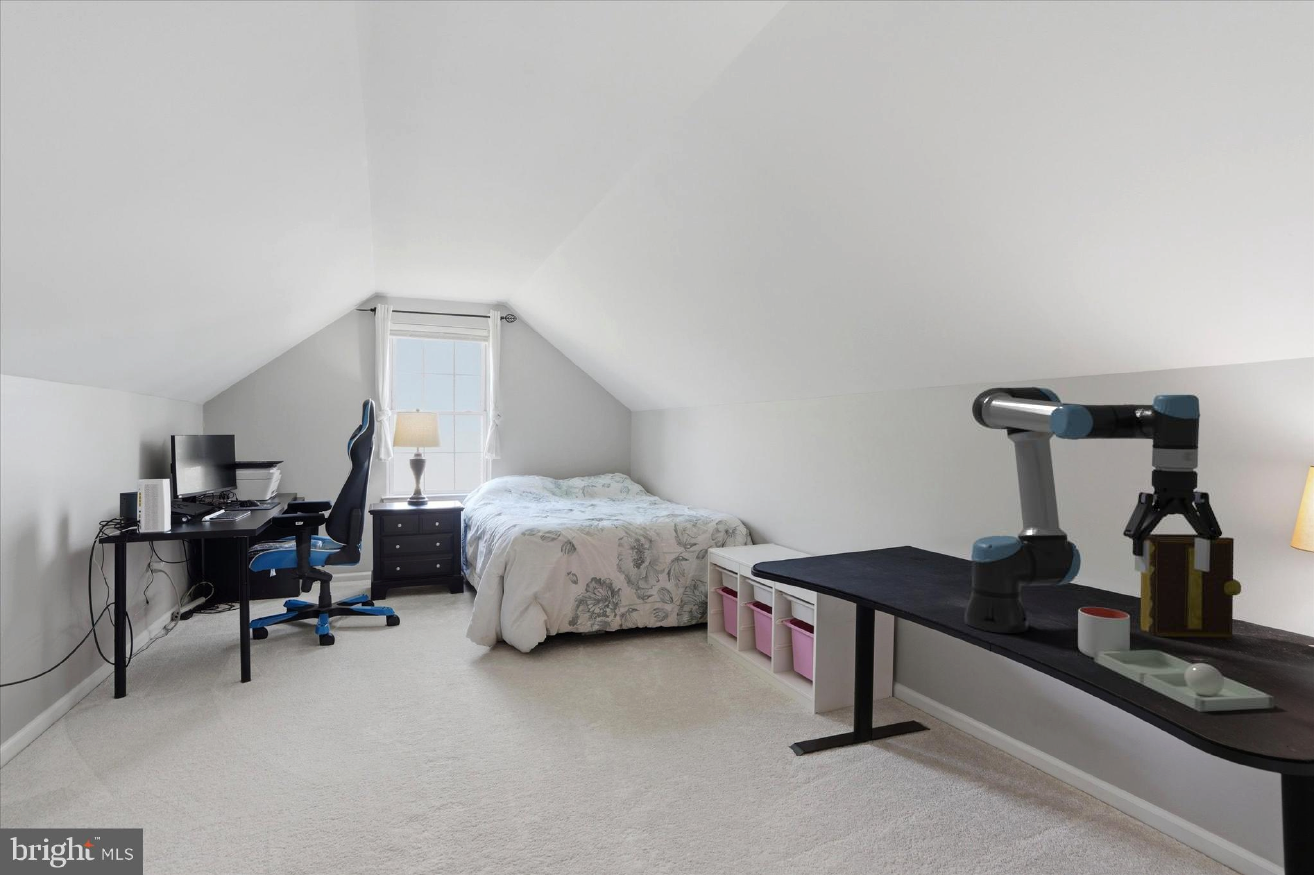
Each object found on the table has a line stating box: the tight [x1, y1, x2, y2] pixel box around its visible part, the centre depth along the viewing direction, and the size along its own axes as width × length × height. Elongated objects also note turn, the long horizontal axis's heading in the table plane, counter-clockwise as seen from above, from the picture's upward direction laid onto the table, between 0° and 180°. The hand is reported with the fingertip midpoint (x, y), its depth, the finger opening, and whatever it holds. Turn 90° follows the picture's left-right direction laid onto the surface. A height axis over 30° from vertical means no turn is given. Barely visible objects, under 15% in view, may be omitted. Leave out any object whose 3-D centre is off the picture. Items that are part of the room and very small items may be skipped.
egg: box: [1184, 662, 1224, 696], centre depth 130 cm, size 6×6×6 cm
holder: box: [1093, 649, 1275, 712], centre depth 137 cm, size 26×15×3 cm, turn 5°
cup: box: [1077, 606, 1131, 659], centre depth 156 cm, size 10×10×10 cm
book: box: [1139, 533, 1242, 639], centre depth 171 cm, size 22×8×25 cm, turn 87°
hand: (1171, 571), depth 139 cm, fingers open, 13 cm apart
